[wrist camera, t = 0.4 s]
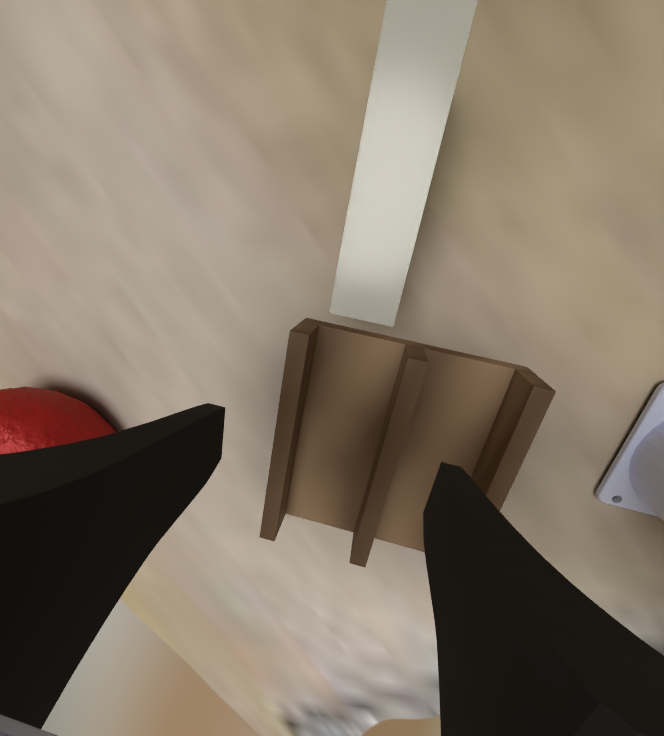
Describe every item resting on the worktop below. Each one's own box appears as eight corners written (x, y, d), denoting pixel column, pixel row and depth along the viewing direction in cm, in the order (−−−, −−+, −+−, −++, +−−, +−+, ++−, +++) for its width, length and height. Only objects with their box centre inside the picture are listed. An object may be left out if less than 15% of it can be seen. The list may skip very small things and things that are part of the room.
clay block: (445, 89, 16) (485, -28, 9) (392, 301, 19) (393, 326, 13) (392, 81, 16) (393, -39, 9) (349, 292, 19) (328, 313, 13)
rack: (527, 367, 19) (555, 391, 16) (450, 547, 24) (460, 594, 21) (306, 317, 20) (289, 330, 17) (276, 499, 25) (259, 537, 22)
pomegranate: (45, 347, 24) (-148, 395, 16) (157, 432, 25) (32, 524, 16) (5, 436, 28) (-173, 517, 19) (105, 509, 28) (-22, 620, 20)
